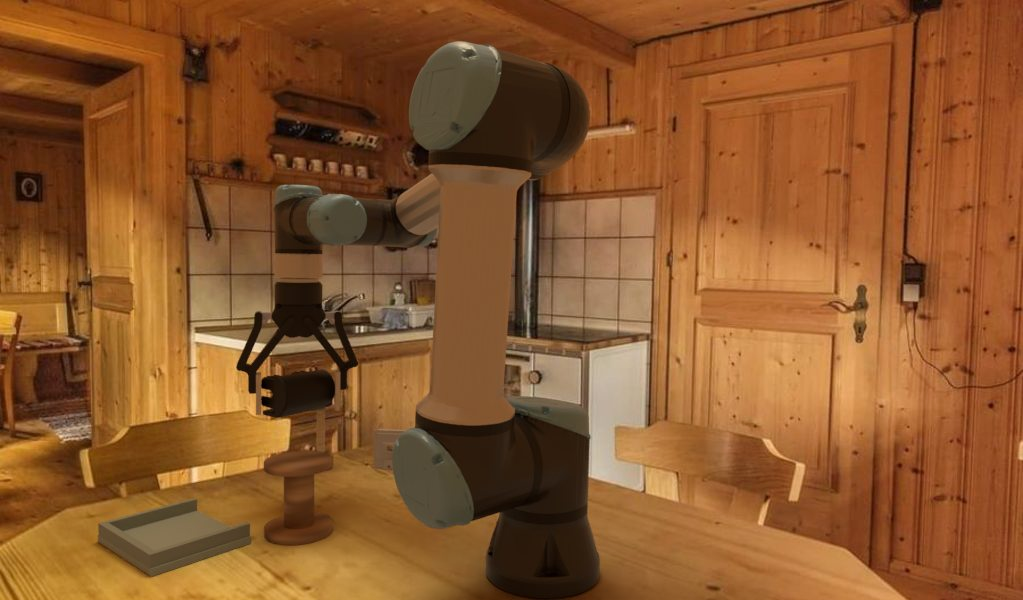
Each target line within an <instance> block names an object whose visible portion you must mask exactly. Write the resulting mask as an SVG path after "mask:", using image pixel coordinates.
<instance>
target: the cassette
mask: <svg viewBox="0 0 1023 600" xmlns="http://www.w3.org/2000/svg"><path fill="white" fill-rule="evenodd" d="M406 430H407V429H387V428H385V429H384V428H376V429H374V430H373V469H383V470H393V465H392V453H393V447H394V444H395V442H396V440H397V439H398V437H399V436H400V434H401V433H403V432H405V431H406ZM390 446H391V447H392V448H391V447H390Z"/></svg>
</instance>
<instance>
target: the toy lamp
mask: <svg viewBox="0 0 1023 600" xmlns="http://www.w3.org/2000/svg"><path fill="white" fill-rule="evenodd" d="M333 404H334V401H333V400H332V401H331V402H330V403H329V404H327V405H326V406H325V407H324V408H322V409H317V410H315V411H316V415H315V420H316V425H315V426H316V433H315V434H316V439H315V443H316V446H315V449H316V450H315V451H320V452H325V453H326V451H325V450H326V444H325V443H326V436H325V435H326V432H327V431H326V421H325V419H326V413H325V412H326V408H327V407H331V406H332V405H333ZM331 469H332V468H330V469H329V470H331Z"/></svg>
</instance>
